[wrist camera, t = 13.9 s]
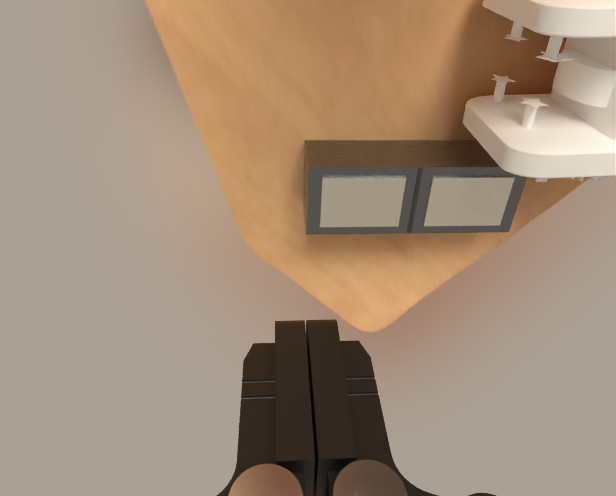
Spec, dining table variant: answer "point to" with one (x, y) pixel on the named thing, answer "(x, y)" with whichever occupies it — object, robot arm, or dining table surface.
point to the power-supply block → (406, 188)
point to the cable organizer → (555, 95)
